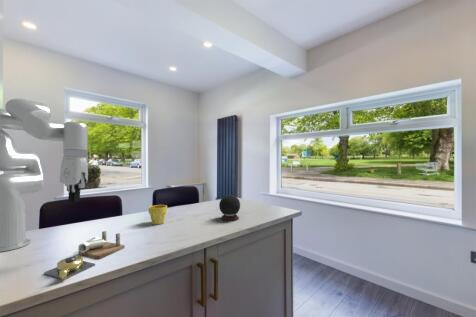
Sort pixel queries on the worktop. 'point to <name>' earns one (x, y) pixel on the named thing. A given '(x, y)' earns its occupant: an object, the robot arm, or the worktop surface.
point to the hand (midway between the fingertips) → (74, 201)
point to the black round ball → (229, 208)
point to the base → (57, 274)
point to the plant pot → (158, 214)
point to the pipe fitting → (91, 244)
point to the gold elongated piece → (69, 265)
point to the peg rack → (104, 248)
